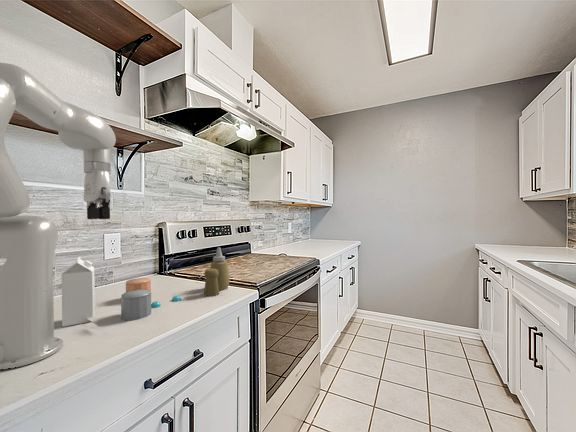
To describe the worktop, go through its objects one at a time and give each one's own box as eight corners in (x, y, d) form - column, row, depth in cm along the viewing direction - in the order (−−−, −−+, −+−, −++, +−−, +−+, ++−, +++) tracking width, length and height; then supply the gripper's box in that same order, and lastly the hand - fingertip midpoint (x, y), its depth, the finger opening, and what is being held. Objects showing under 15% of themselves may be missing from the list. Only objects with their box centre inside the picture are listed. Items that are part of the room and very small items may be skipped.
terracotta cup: (132, 307, 90) (132, 284, 90) (122, 303, 95) (122, 281, 95) (154, 301, 97) (154, 279, 96) (144, 297, 101) (144, 276, 101)
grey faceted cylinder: (129, 327, 75) (128, 299, 74) (117, 321, 79) (116, 294, 79) (156, 318, 81) (155, 292, 81) (143, 313, 85) (143, 288, 85)
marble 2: (172, 303, 91) (178, 295, 92) (168, 301, 93) (173, 293, 94) (179, 307, 93) (184, 298, 94) (174, 304, 95) (179, 296, 96)
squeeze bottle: (205, 291, 108) (205, 247, 108) (223, 287, 114) (223, 245, 113) (214, 296, 102) (214, 249, 102) (233, 291, 108) (232, 247, 107)
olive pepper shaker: (199, 299, 99) (199, 269, 98) (211, 294, 104) (211, 266, 104) (212, 301, 96) (211, 271, 96) (223, 297, 101) (223, 268, 101)
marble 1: (164, 306, 88) (156, 313, 86) (158, 304, 90) (151, 311, 88) (160, 300, 87) (152, 307, 85) (154, 298, 89) (146, 305, 86)
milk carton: (62, 327, 75) (60, 260, 75) (66, 319, 81) (65, 257, 81) (93, 321, 79) (92, 257, 79) (95, 314, 85) (94, 254, 85)
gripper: (75, 170, 93) (76, 219, 93) (94, 164, 83) (95, 219, 83) (100, 172, 99) (100, 218, 99) (120, 167, 89) (121, 218, 89)
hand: (98, 219), depth 91 cm, fingers open, 9 cm apart
